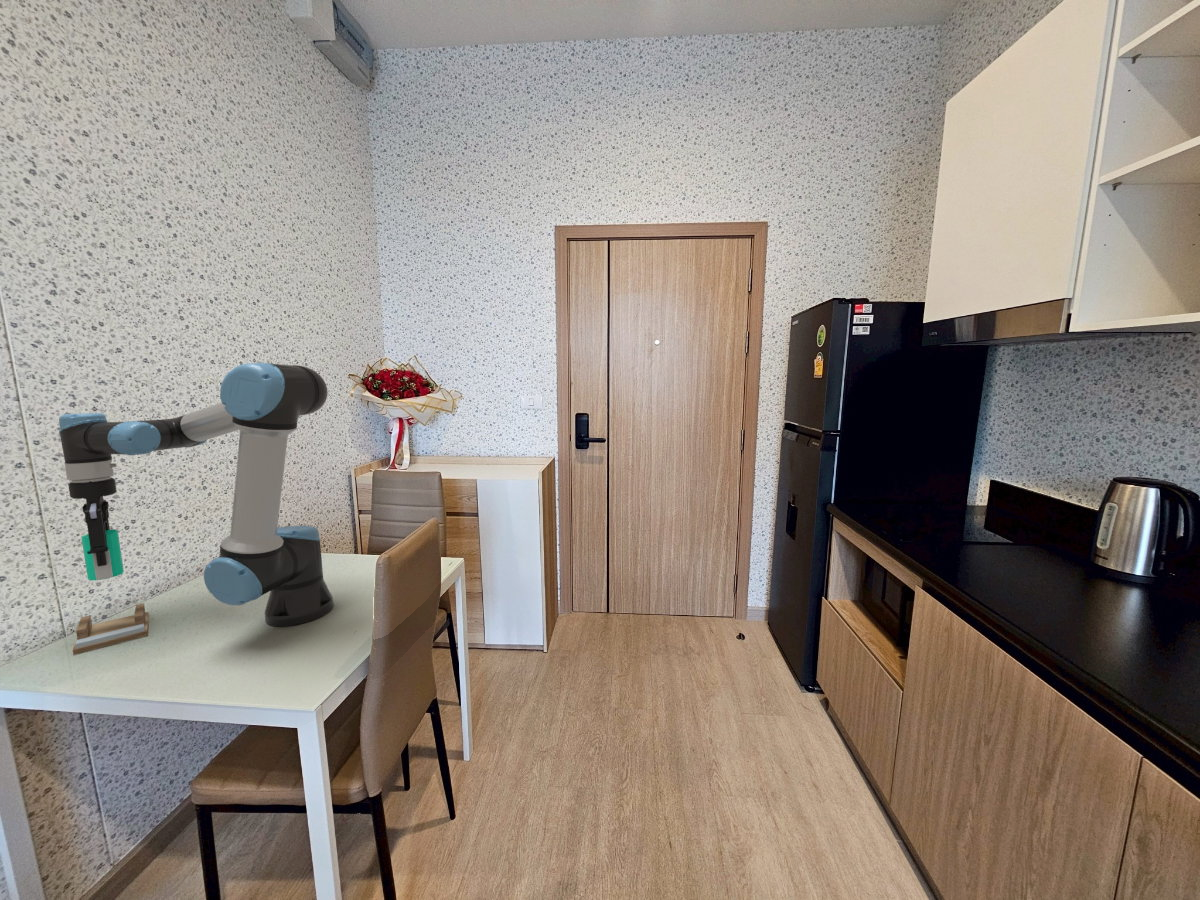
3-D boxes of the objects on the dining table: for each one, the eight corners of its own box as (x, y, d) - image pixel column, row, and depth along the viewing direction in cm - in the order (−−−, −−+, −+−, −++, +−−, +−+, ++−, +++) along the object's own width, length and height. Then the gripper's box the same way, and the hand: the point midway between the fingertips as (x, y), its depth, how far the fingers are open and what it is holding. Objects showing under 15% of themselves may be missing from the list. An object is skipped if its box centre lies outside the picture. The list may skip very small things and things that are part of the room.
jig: (147, 635, 114) (145, 619, 113) (73, 655, 106) (70, 637, 105) (149, 615, 124) (146, 600, 123) (81, 632, 116) (79, 615, 115)
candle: (129, 569, 117) (122, 522, 116) (115, 578, 112) (107, 529, 110) (97, 572, 115) (90, 525, 114) (81, 582, 110) (73, 532, 108)
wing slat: (144, 631, 113) (143, 627, 113) (76, 648, 106) (75, 644, 106) (144, 627, 115) (143, 623, 115) (77, 644, 108) (77, 639, 108)
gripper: (111, 482, 106) (125, 581, 109) (117, 472, 120) (130, 560, 123) (61, 487, 101) (77, 590, 104) (73, 476, 115) (88, 567, 118)
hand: (106, 574), depth 114 cm, fingers closed on candle, 6 cm apart
